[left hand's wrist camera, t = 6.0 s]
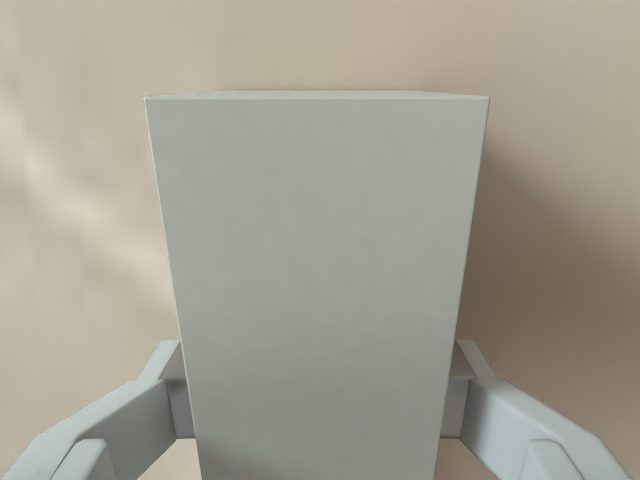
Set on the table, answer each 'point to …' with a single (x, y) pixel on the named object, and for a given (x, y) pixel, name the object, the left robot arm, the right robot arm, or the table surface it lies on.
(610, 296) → the table surface
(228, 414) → the beam
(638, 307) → the table surface
